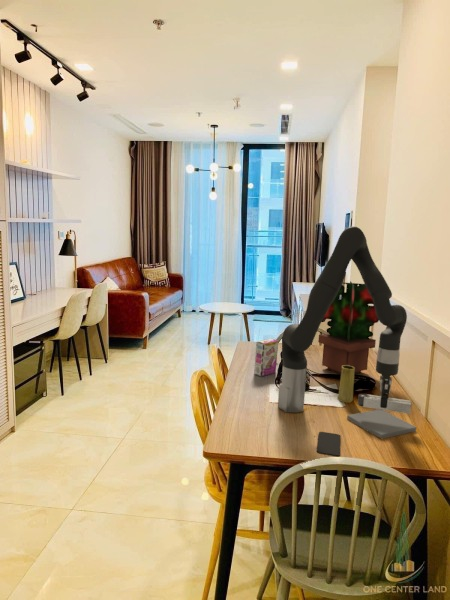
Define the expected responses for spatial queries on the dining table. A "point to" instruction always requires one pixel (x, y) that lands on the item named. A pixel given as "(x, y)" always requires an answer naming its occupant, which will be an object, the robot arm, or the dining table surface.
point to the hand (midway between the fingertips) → (383, 404)
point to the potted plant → (349, 329)
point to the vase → (346, 384)
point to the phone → (328, 444)
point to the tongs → (392, 403)
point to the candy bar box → (266, 357)
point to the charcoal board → (381, 423)
